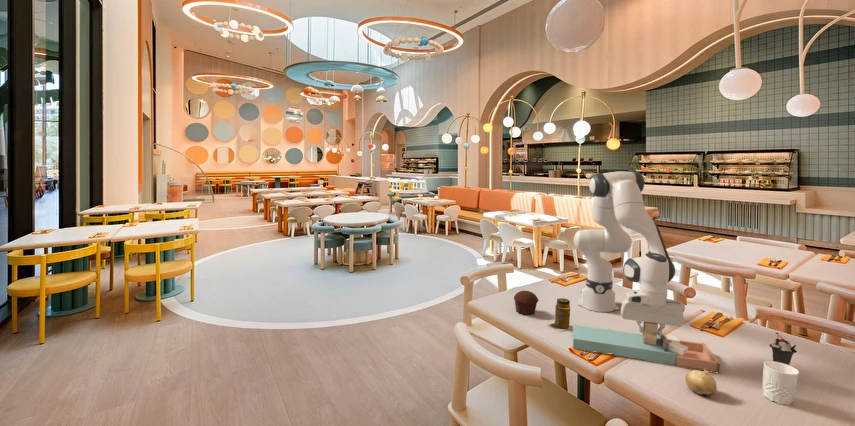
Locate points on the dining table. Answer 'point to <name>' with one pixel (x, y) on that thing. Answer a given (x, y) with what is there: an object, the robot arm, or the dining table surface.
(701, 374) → the tan oval lump
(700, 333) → the dining table surface
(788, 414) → the dining table surface
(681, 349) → the tile
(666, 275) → the robot arm
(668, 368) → the dining table surface
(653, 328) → the scraper
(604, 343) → the board
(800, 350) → the dining table surface
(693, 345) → the tray
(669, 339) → the tile
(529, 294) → the muffin
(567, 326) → the condiment
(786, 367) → the white cup
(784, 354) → the sundae
